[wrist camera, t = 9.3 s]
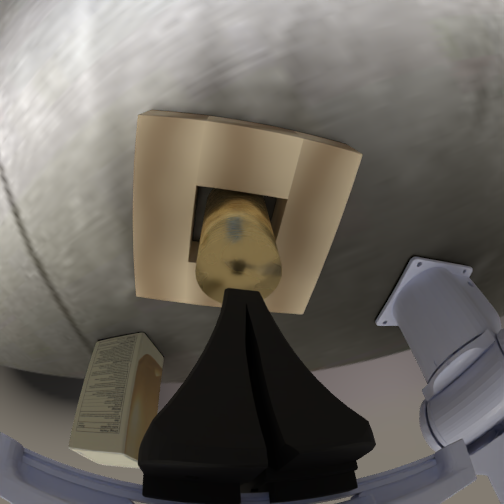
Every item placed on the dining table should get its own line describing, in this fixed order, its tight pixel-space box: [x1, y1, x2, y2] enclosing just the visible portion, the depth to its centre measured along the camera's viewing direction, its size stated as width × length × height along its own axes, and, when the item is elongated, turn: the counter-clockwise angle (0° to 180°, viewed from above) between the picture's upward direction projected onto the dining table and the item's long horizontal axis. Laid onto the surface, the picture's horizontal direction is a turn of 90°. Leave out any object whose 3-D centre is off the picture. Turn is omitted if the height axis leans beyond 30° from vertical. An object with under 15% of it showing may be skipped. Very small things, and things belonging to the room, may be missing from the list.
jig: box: [133, 110, 362, 314], centre depth 18 cm, size 12×12×2 cm
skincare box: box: [69, 332, 164, 468], centre depth 21 cm, size 6×4×12 cm
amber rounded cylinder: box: [195, 188, 282, 303], centre depth 16 cm, size 4×4×7 cm
